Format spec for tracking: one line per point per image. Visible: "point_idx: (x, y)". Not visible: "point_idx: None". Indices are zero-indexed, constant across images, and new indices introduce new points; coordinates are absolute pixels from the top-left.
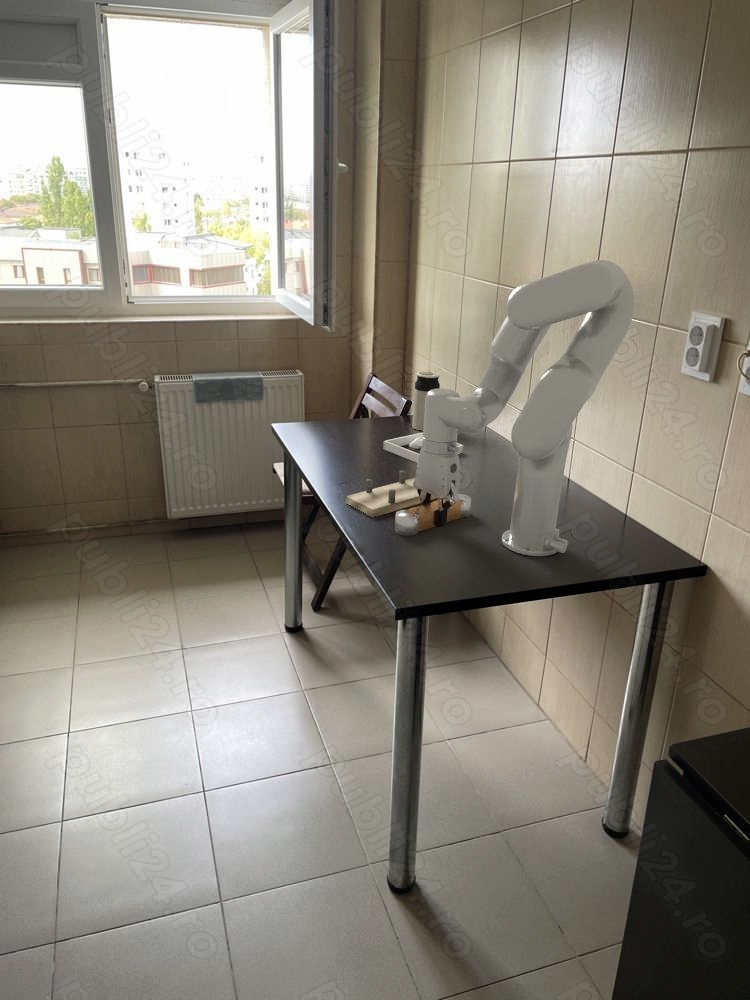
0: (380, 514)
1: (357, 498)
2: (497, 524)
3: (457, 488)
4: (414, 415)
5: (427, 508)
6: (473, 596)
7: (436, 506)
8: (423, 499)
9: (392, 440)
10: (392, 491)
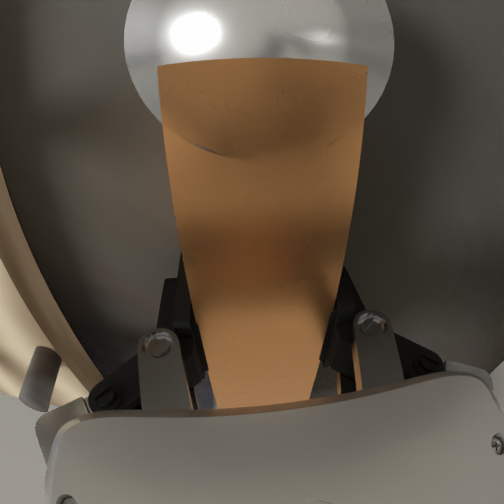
0: (96, 370)
1: (16, 390)
2: (484, 25)
3: (496, 441)
4: None
5: (268, 381)
6: (498, 363)
7: (280, 341)
8: (196, 398)
9: None
10: (42, 408)
